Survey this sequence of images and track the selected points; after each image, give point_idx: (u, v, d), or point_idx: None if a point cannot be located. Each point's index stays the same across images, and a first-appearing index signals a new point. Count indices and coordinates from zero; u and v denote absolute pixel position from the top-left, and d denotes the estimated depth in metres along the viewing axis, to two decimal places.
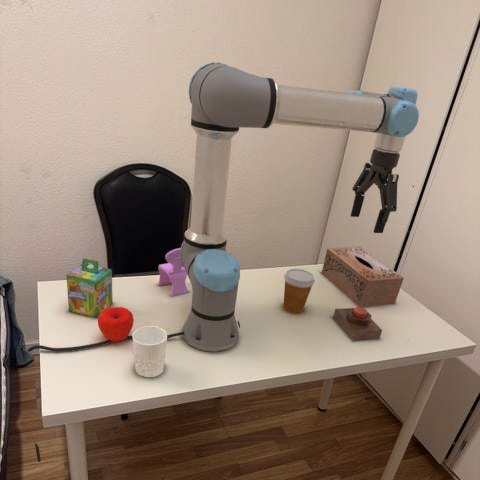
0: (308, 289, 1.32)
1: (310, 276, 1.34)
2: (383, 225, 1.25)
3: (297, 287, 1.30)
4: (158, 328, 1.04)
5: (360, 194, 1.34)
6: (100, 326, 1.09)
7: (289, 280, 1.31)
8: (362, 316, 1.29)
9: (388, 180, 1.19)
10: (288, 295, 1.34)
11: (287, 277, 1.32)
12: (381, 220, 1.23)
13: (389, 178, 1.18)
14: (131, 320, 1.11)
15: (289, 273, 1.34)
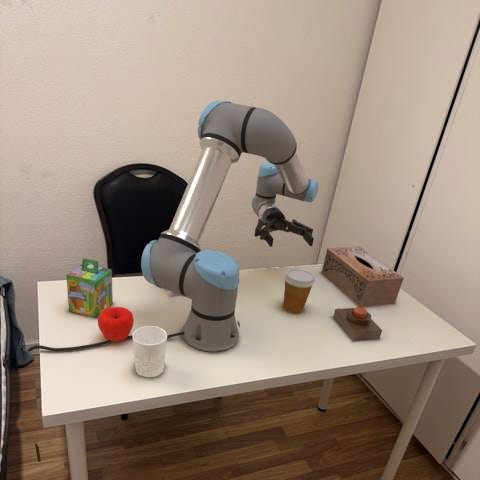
0: (308, 289, 1.32)
1: (310, 276, 1.34)
2: None
3: (297, 287, 1.30)
4: (158, 328, 1.04)
5: None
6: (100, 326, 1.09)
7: (289, 280, 1.31)
8: (362, 316, 1.29)
9: (294, 221, 1.50)
10: (288, 295, 1.34)
11: (287, 277, 1.32)
12: (310, 235, 1.43)
13: (294, 220, 1.51)
14: (131, 320, 1.11)
15: (289, 273, 1.34)
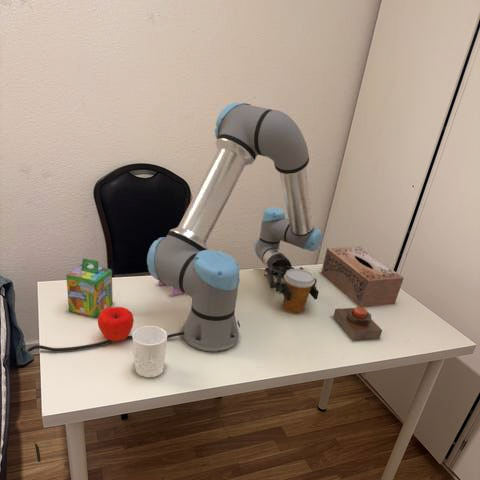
0: (308, 289, 1.32)
1: (310, 276, 1.34)
2: None
3: (297, 287, 1.30)
4: (158, 328, 1.04)
5: None
6: (100, 326, 1.09)
7: (289, 280, 1.31)
8: (362, 316, 1.29)
9: None
10: None
11: (287, 277, 1.32)
12: (314, 287, 1.36)
13: (301, 268, 1.46)
14: (131, 320, 1.11)
15: (289, 273, 1.34)
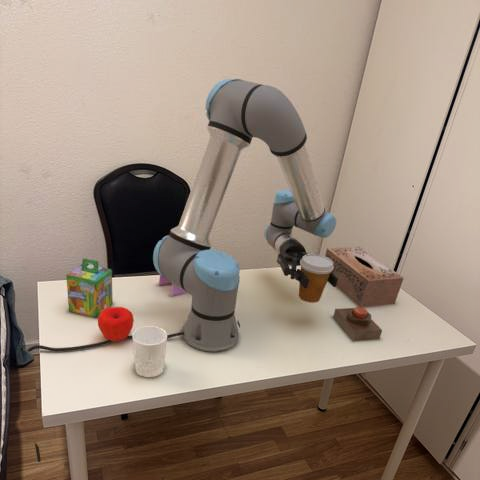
0: (326, 276, 1.21)
1: (328, 262, 1.23)
2: None
3: (314, 273, 1.19)
4: (158, 328, 1.04)
5: None
6: (100, 326, 1.09)
7: (306, 266, 1.20)
8: (362, 316, 1.29)
9: None
10: None
11: (304, 262, 1.21)
12: (332, 274, 1.25)
13: None
14: (131, 320, 1.11)
15: (305, 258, 1.23)
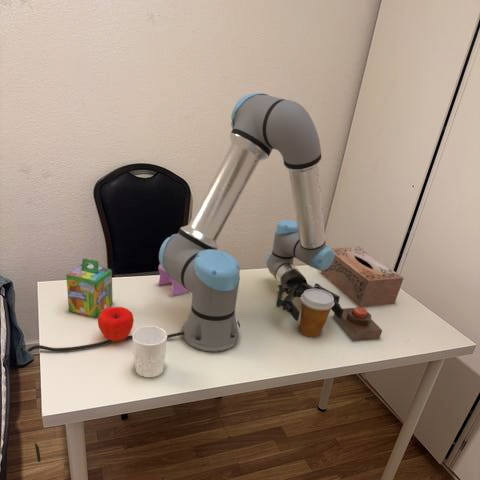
0: (327, 311, 1.22)
1: (329, 297, 1.23)
2: None
3: (315, 309, 1.20)
4: (158, 328, 1.04)
5: None
6: (100, 326, 1.09)
7: (307, 302, 1.21)
8: (362, 316, 1.29)
9: (318, 286, 1.35)
10: (306, 318, 1.24)
11: (305, 298, 1.21)
12: (338, 305, 1.28)
13: (317, 285, 1.36)
14: (131, 320, 1.11)
15: (306, 294, 1.24)
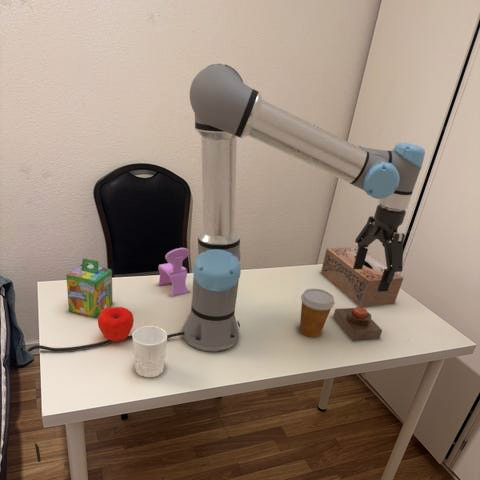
0: (327, 311, 1.22)
1: (329, 297, 1.23)
2: (388, 283, 1.19)
3: (315, 309, 1.20)
4: (158, 328, 1.04)
5: (363, 247, 1.27)
6: (100, 326, 1.09)
7: (307, 302, 1.21)
8: (362, 316, 1.29)
9: (393, 239, 1.12)
10: (306, 318, 1.24)
11: (305, 298, 1.21)
12: (386, 279, 1.17)
13: (394, 238, 1.12)
14: (131, 320, 1.11)
15: (306, 294, 1.24)
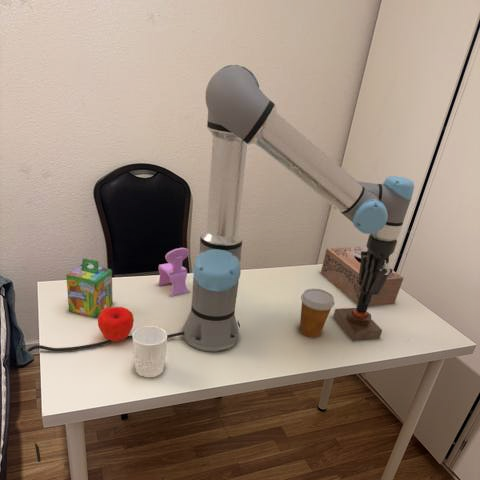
0: (327, 311, 1.22)
1: (329, 297, 1.23)
2: (366, 305, 1.29)
3: (315, 309, 1.20)
4: (158, 328, 1.04)
5: None
6: (100, 326, 1.09)
7: (307, 302, 1.21)
8: (361, 317, 1.29)
9: (380, 272, 1.18)
10: (306, 318, 1.24)
11: (305, 298, 1.21)
12: (364, 301, 1.27)
13: (382, 272, 1.18)
14: (131, 320, 1.11)
15: (306, 294, 1.24)
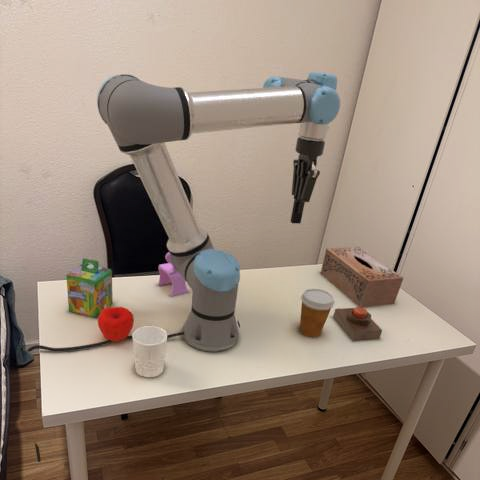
0: (327, 311, 1.22)
1: (329, 297, 1.23)
2: (300, 215, 1.28)
3: (315, 309, 1.20)
4: (158, 328, 1.04)
5: None
6: (100, 326, 1.09)
7: (307, 302, 1.21)
8: (362, 316, 1.29)
9: (308, 174, 1.17)
10: (306, 318, 1.24)
11: (305, 298, 1.21)
12: (297, 211, 1.27)
13: (309, 174, 1.17)
14: (131, 320, 1.11)
15: (306, 294, 1.24)
